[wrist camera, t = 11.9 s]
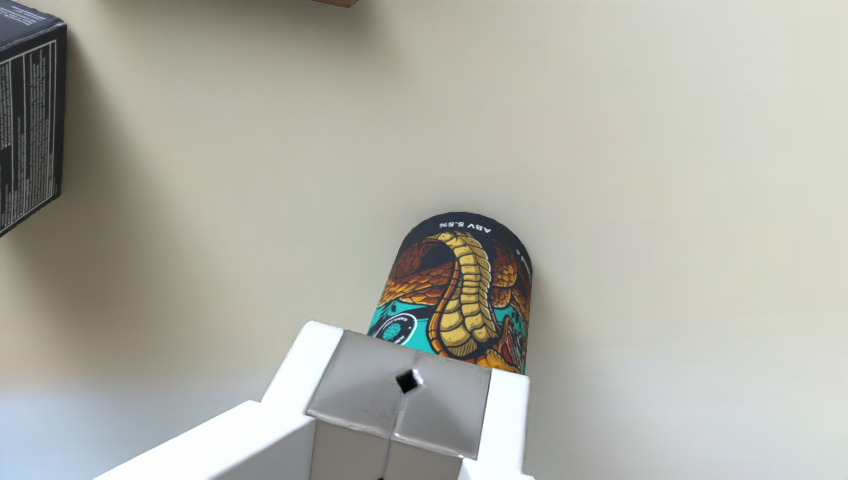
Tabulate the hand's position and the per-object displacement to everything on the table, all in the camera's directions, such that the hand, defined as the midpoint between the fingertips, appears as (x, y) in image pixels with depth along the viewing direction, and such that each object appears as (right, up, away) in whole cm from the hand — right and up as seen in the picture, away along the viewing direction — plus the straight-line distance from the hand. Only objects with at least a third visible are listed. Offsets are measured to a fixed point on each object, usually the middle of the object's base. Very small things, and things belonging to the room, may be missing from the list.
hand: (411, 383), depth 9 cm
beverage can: (+2, +1, +28) cm, 28 cm away
